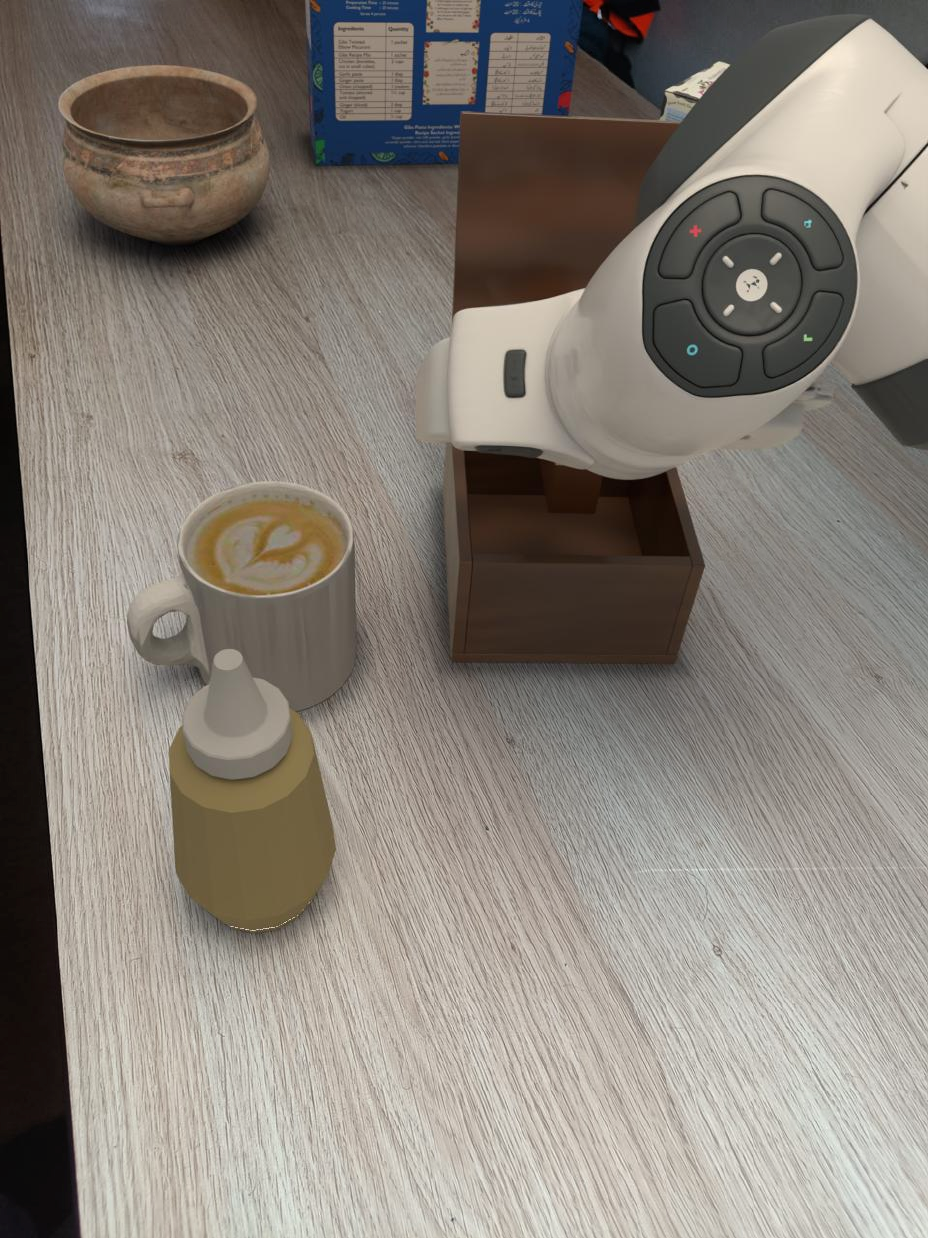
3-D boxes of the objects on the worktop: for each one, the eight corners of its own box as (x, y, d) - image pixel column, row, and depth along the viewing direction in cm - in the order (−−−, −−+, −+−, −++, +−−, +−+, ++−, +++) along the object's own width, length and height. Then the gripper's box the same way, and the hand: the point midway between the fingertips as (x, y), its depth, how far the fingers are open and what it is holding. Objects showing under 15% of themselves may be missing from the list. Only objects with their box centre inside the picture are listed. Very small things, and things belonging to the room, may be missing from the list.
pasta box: (546, 132, 127) (579, -151, 107) (562, 161, 122) (600, -132, 102) (310, 135, 122) (298, -161, 102) (316, 165, 117) (304, -141, 97)
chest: (675, 663, 69) (705, 565, 63) (451, 662, 68) (459, 562, 62) (635, 498, 81) (657, 401, 74) (442, 495, 80) (448, 396, 73)
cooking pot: (286, 289, 99) (277, 156, 90) (72, 299, 95) (41, 162, 86) (263, 171, 115) (254, 49, 106) (81, 176, 112) (56, 51, 103)
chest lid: (700, 123, 65) (683, 114, 69) (461, 112, 64) (457, 103, 67) (659, 398, 74) (646, 377, 78) (449, 392, 73) (446, 371, 76)
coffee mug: (340, 588, 72) (336, 471, 65) (370, 699, 66) (370, 583, 58) (136, 617, 69) (108, 498, 62) (147, 737, 63) (117, 620, 55)
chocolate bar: (584, 454, 71) (608, 320, 64) (596, 514, 67) (624, 378, 59) (537, 453, 71) (557, 318, 63) (547, 513, 66) (569, 376, 59)
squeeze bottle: (167, 845, 58) (108, 616, 45) (311, 801, 60) (294, 571, 47) (204, 978, 53) (148, 763, 40) (358, 923, 55) (354, 704, 42)
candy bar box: (672, 278, 105) (711, 104, 93) (628, 261, 106) (661, 88, 95) (723, 238, 111) (765, 71, 99) (680, 222, 113) (717, 57, 101)
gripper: (851, 321, 51) (750, 379, 65) (421, 307, 49) (412, 370, 63) (848, 454, 51) (748, 484, 65) (420, 444, 49) (411, 477, 63)
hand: (580, 428), depth 64 cm, fingers closed on chocolate bar, 3 cm apart
